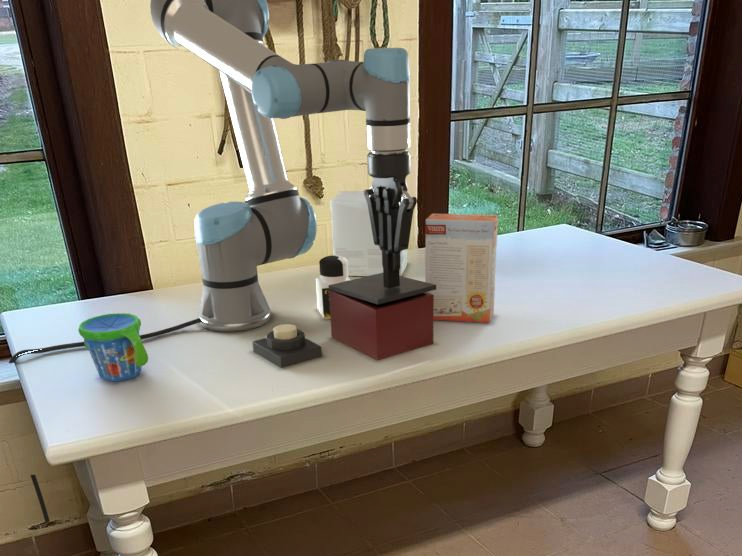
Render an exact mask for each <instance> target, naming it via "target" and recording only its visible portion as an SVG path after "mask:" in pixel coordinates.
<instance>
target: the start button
mask: <svg viewBox="0 0 742 556" xmlns="http://www.w3.org/2000/svg"><path fill="white" fill-rule="evenodd" d="M297 329H298V328H297V326H296V325H294V324H290V323H284V324H278V325H275V326H274V327H273V329H272V331H274V338H276V339H281V340H285V339H292V338H295V337H297Z"/></svg>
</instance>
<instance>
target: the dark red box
mask: <svg viewBox="0 0 742 556" xmlns="http://www.w3.org/2000/svg"><path fill="white" fill-rule="evenodd" d="M329 301H330V317H331V319H330V330H331V332H330V333H331V339H333V340H334V341H337V342H338V343H341V344H343V345H345V346H346V347H349V348H351V349H353V350H354V351H356V352H359V353H361V354H363V355H365V356H367V357H369V358H371V359H373V360H375V361H381V360H384V359H388V358H390V357H394V356H397V355H400V354H405V353H408V352H410V351H414V350H418V349H421V348H425V347H428V346H430V345H434V321H435V320H434V295H433V294H430V293H428V292H425V293H421V294H417V295H413V296H409V297H405V298H402V299H398V300H394V301H390V302H386V303H382V304H375V303H371V302H368V301H365V300H361V299H358V298H355V297H351V296H348V295H345V294H341V293H338V292H335V291H331V290H329Z"/></svg>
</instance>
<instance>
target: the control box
mask: <svg viewBox="0 0 742 556" xmlns="http://www.w3.org/2000/svg"><path fill="white" fill-rule="evenodd" d="M305 334H306V333H305V331H303V330H302V329H299V328H297V337H295V338H292V339H285V340H281V339H276V338H274V330H271V331H269V332H268V333H266V337H264V338H260V339H256V340H253V341H251V343H252V349H253V350H252V351H253V353H255V354H257V355H258V356H259V357H261V358H264V359H265V360H266V361H268V362H270V363H272V364H273V365H275V366H277V367H279V368H280V369H284V368H288V367H291V366H294V365H299V364H302V363H305V362H309V361H312V360H316V359H319V358H322V357H323V353H322V346H321V345H319V344H318V343H316V342H313V341H312V340H310V339H308V338H306V335H305Z"/></svg>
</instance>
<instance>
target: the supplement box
mask: <svg viewBox="0 0 742 556" xmlns="http://www.w3.org/2000/svg"><path fill="white" fill-rule="evenodd" d="M329 205H330V206H329V207H330V220H331V221H330V222H331V235H332V252H333V253H332V254H333V255H332V256H342V257H344V258H346V259H347V260H348V277H366V276H370V275H375V274H379V273H383V266H382V251H381V250H380V247H379V246H378V245H375V244H374V241H373V235H372V228H371V222H370V216H369V210H368V204H367V201H366V198H365V195H364V190H340V191H339V192H338V193H337V194H336V195H335V196H334V197H333V198H332V199H331V200H330V201H329ZM407 265H408V249H406V250H403V251H401V253H400V270H399V272H400V276H403V273H404V272H405V270H406V267H407Z"/></svg>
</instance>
